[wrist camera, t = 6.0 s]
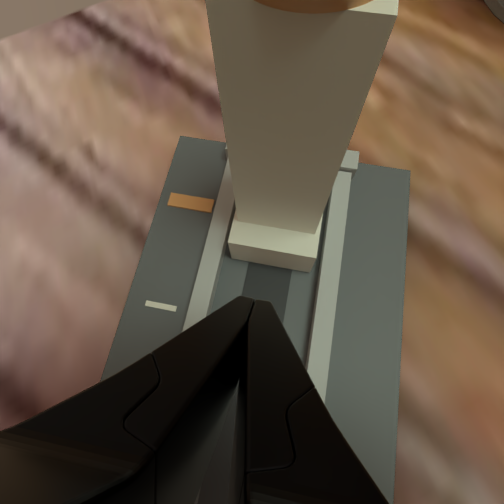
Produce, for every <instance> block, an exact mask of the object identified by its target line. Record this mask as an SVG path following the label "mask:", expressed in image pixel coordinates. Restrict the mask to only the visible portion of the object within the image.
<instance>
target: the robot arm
mask: <svg viewBox="0 0 504 504" xmlns="http://www.w3.org/2000/svg"><path fill="white" fill-rule="evenodd" d="M238 382H239V385H238ZM237 385H238V393H237V403H236V414H235V425H234V436H233V448H232V459H231V470H230V481H229V492H228V503H227V504H389V502H388V501H387V499H386V498H385V496H384V495H383V494H382V492H381V491H380V489H379V488H378V486H377V485H376V483H375V482H374V480H373V479H372V477H371V476H370V475H369V473H368V472H367V470H366V469H365V467H364V466H363V464H362V463H361V461H360V460H359V458H358V457H357V455H356V454H355V453H354V451H353V450H352V448H351V447H350V445H349V444H348V442H347V441H346V439H345V437H344V436H343V434H342V433H341V431H340V430H339V428H338V427H337V425H336V424H335V422H334V420H333V419H332V417H331V415H330V413H329V411H328V410H327V408H326V406H325V404H324V403H323V401H322V399H321V397H320V395H319V393H318V391H317V389H316V388H315V385H314V383H313V382H312V380H311V378H310V376H309V374H308V372H307V370H306V368H305V366H304V364H303V362H302V360H301V358H300V356H299V355H298V353H297V351H296V349H295V347H294V345H293V343H292V341H291V339H290V337H289V335H288V333H287V331H286V329H285V327H284V326H283V324H282V322H281V320H280V318H279V316H278V314H277V312H276V310H275V308H274V306H273V304H272V303H271V302H270V301H266V300H261V299H256V300H255V301H254V299H253V298H250V297H245V296H237V297H236V298H234V299H233V300H231V301H230V302H228V303H227V304H225V305H223V306H222V307H220V308H219V309H217V310H216V311H214V312H213V313H211V314H209V315H208V316H206V317H205V318H203V319H202V320H200V321H199V322H197V323H195V324H194V325H192V326H191V327H189V328H188V329H186V330H185V331H183V332H181V333H180V334H178V335H177V336H175V337H174V338H172V339H171V340H169V341H167V342H166V343H164V344H163V345H161V346H160V347H158V348H157V349H155V350H153V351H152V352H151V353H149V354H147V355H145V356H144V357H142V358H141V359H139V360H138V361H136V362H134V363H133V364H131V365H129V366H128V367H126V368H124V369H123V370H121V371H119V372H118V373H116V374H114V375H112V376H111V377H109V378H107V379H105V380H103V381H101V382H99V383H98V384H96V385H94V386H92V387H90V388H88V389H86V390H84V391H82V392H80V393H78V394H76V395H74V396H73V397H71V398H69V399H67V400H65V401H63V402H61V403H59V404H57V405H55V406H53V407H51V408H49V409H47V410H45V411H43V412H41V413H39V414H37V415H35V416H33V417H32V418H30V419H28V420H26V421H23V422H21V423H19V424H17V425H15V426H13V427H10V428H7V429H5V430H2V431H0V504H194V503H195V500H196V498H197V495H198V492H199V490H200V487H201V484H202V481H203V479H204V476H205V473H206V471H207V468H208V465H209V462H210V460H211V457H212V454H213V452H214V449H215V446H216V443H217V441H218V438H219V435H220V432H221V430H222V427H223V424H224V422H225V419H226V416H227V413H228V411H229V408H230V405H231V403H232V400H233V397H234V394H235V391H236V388H237Z"/></svg>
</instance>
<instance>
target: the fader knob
mask: <svg viewBox="0 0 504 504" xmlns="http://www.w3.org/2000/svg"><path fill="white" fill-rule="evenodd" d="M205 1H206V8H207V15H208V22H209V29H210V35H211V42H212V49H213V56H214V63H215V70H216V76H217V83H218V90H219V97H220V104H221V110H222V117H223V124H224V131H225V138H226V144H227V151H228V158H229V165H230V172H231V179H232V185H233V192H234V199H235V206H236V210H235V214H234V218H233V223H232V227H231V231H230V235H229V239H228V245H229V250H230V254H231V258H232V259H237V260H243V261H248V262H254V263H259V264H265V265H270V266H276V267H281V268H287V269H292V270H298V271H303V272H309V273H310V271H311V269H312V267H313V265H314V262H315V260H316V258H317V251H318V244H319V237H320V230H321V223H322V216H323V212H324V209H325V206H326V204H327V201H328V198H329V196H330V193H331V190H332V188H333V185H334V182H335V180H336V177H337V174H338V172H339V169H340V166H341V164H342V161H343V158H344V156H345V153H346V150H347V148H348V145H349V142H350V140H351V137H352V135H353V132H354V129H355V127H356V124H357V121H358V119H359V116H360V113H361V111H362V108H363V105H364V103H365V100H366V97H367V95H368V92H369V89H370V87H371V84H372V81H373V79H374V76H375V73H376V71H377V68H378V66H379V63H380V60H381V58H382V55H383V52H384V50H385V47H386V44H387V42H388V39H389V36H390V34H391V31H392V28H393V26H394V23H395V20H396V18H397V14H398V1H399V0H205Z"/></svg>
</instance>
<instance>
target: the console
mask: <svg viewBox="0 0 504 504" xmlns="http://www.w3.org/2000/svg"><path fill="white" fill-rule="evenodd" d="M358 159H359V152H358V151H351V150H346V153H345V156H344V158H343V161H342V164H341V166H340V169H339V172H338V174H337V177H336V180H335V182H334V185H333V188H332V190H331V193H330V196H329V198H328V201H327V204H326V206H325V209H324V212H323V216H322V223H321V230H320V237H319V244H318V251H317V258H316V260H315V262H314V265H313V267H312V269H311V271H310V273H309V272H303V271H298V270H292V269H287V268H281V267H276V266H270V265H265V264H259V263H254V262H248V261H243V260H237V259H232V258H231V254H230V250H229V245H228V239H229V235H230V231H231V227H232V223H233V218H234V214H235V210H236V206H235V199H234V192H233V185H232V179H231V172H230V165H229V158H228V151H227V144H226V143H224V142H218V141H211V140H205V139H198V138H191V137H185V136H180V138H179V141H178V145H177V148H176V151H175V154H174V157H173V160H172V163H171V166H170V169H169V172H168V175H167V178H166V181H165V184H164V187H163V191H162V194H161V197H160V200H159V203H158V206H157V209H156V212H155V215H154V218H153V221H152V224H151V227H150V230H149V233H148V236H147V240H146V243H145V246H144V249H143V252H142V255H141V258H140V261H139V264H138V267H137V270H136V273H135V276H134V279H133V282H132V286H131V289H130V292H129V295H128V298H127V301H126V304H125V307H124V310H123V313H122V316H121V319H120V322H119V325H118V328H117V332H116V335H115V338H114V341H113V344H112V347H111V350H110V353H109V356H108V359H107V362H106V365H105V368H104V371H103V374H102V377H101V381H103V380H105V379H107V378H109V377H111V376H112V375H114V374H116V373H118V372H119V371H121V370H123V369H124V368H126V367H128V366H129V365H131V364H133V363H134V362H136V361H138V360H139V359H141V358H142V357H144V356H145V355H147V354H149V353H151V352H152V351H153V350H155V349H157V348H158V347H160V346H161V345H163V344H164V343H166V342H167V341H169V340H171V339H172V338H174V337H175V336H177V335H178V334H180V333H181V332H183V331H185V330H186V329H188V328H189V327H191V326H192V325H194V324H195V323H197V322H199V321H200V320H202V319H203V318H205V317H206V316H208V315H209V314H211V313H213V312H214V311H216V310H217V309H219V308H220V307H222V306H223V305H225V304H227V303H228V302H230V301H231V300H233V299H234V298H236V297H237V296H245V297H250V298H253V299H254V301H255V300H256V299H261V300H266V301H270V302H271V303H272V304H273V306H274V308H275V310H276V312H277V314H278V316H279V318H280V320H281V322H282V324H283V326H284V327H285V329H286V331H287V333H288V335H289V337H290V339H291V341H292V343H293V345H294V347H295V349H296V351H297V353H298V355H299V356H300V358H301V360H302V362H303V364H304V366H305V368H306V370H307V372H308V374H309V376H310V378H311V380H312V382H313V383H314V385H315V388H316V389H317V391H318V393H319V395H320V397H321V399H322V401H323V403H324V404H325V406H326V408H327V410H328V411H329V413H330V415H331V417H332V419H333V420H334V422H335V424H336V425H337V427H338V428H339V430H340V431H341V433H342V434H343V436H344V437H345V439H346V441H347V442H348V444H349V445H350V447H351V448H352V450H353V451H354V453H355V454H356V455H357V457H358V458H359V460H360V461H361V463H362V464H363V466H364V467H365V469H366V470H367V472H368V473H369V475H370V476H371V477H372V479H373V480H374V482H375V483H376V485H377V486H378V488H379V489H380V491H381V492H382V494H383V495H384V496H385V498H386V499H387V501H388V502H389V504H393V499H394V479H395V460H396V441H397V421H398V402H399V382H400V363H401V344H402V324H403V305H404V285H405V266H406V247H407V227H408V208H409V188H410V171H409V170H402V169H396V168H389V167H383V166H376V165H369V164H363V163H358ZM101 381H100V382H101ZM238 385H239V382H238ZM238 385H237V388H236V391H235V394H234V397H233V400H232V403H231V405H230V408H229V411H228V413H227V416H226V419H225V422H224V424H223V427H222V430H221V432H220V435H219V438H218V441H217V443H216V446H215V449H214V452H213V454H212V457H211V460H210V462H209V465H208V468H207V471H206V473H205V476H204V479H203V481H202V484H201V487H200V490H199V492H198V495H197V498H196V500H195V503H194V504H227V503H228V492H229V481H230V470H231V459H232V448H233V436H234V425H235V414H236V403H237V393H238Z"/></svg>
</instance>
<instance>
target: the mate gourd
mask: <svg viewBox="0 0 504 504" xmlns="http://www.w3.org/2000/svg"><path fill="white" fill-rule="evenodd" d="M484 2H485V3H486V5H487V6H488V7H489V9H490V10H491V11H492V13H493V14H494V15H495V16H496V17H497V18H498V19H500V20H501V21H502V22H503V23H504V0H484Z"/></svg>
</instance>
